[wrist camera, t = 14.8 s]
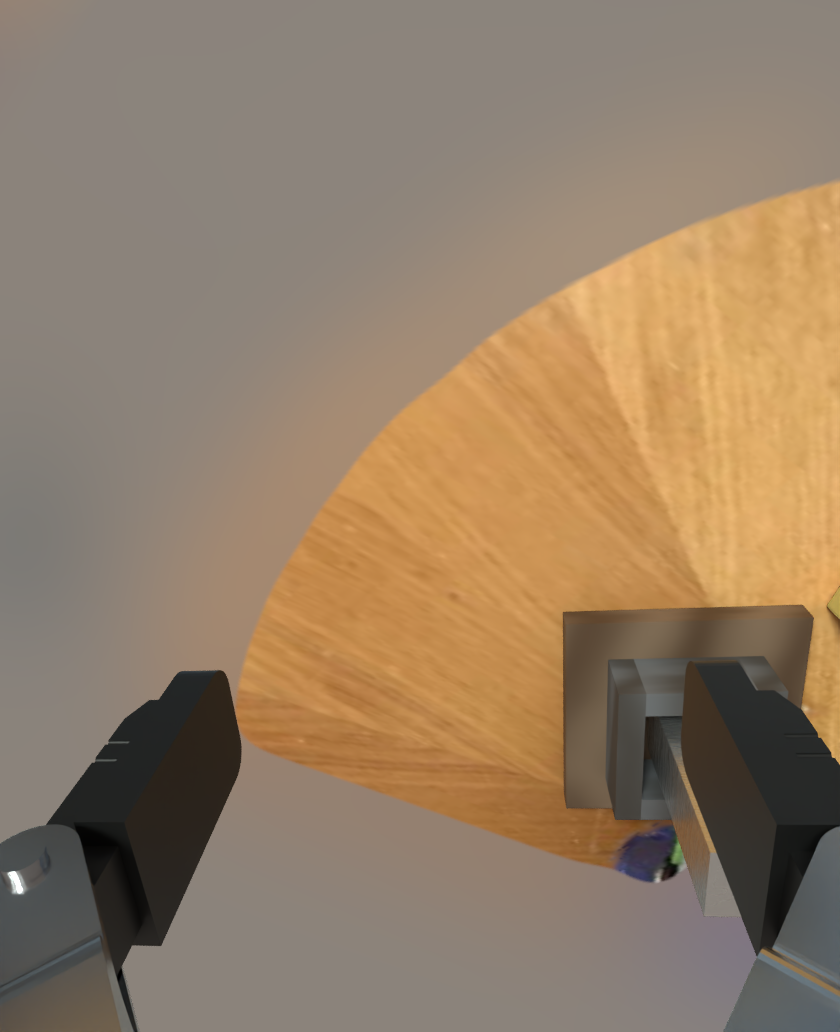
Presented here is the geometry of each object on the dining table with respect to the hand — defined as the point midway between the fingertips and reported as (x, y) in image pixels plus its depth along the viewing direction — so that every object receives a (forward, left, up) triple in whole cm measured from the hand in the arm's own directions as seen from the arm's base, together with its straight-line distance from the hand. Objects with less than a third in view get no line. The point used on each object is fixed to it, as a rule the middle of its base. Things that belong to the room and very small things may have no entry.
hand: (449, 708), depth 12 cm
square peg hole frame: (-12, +21, -28) cm, 37 cm away
